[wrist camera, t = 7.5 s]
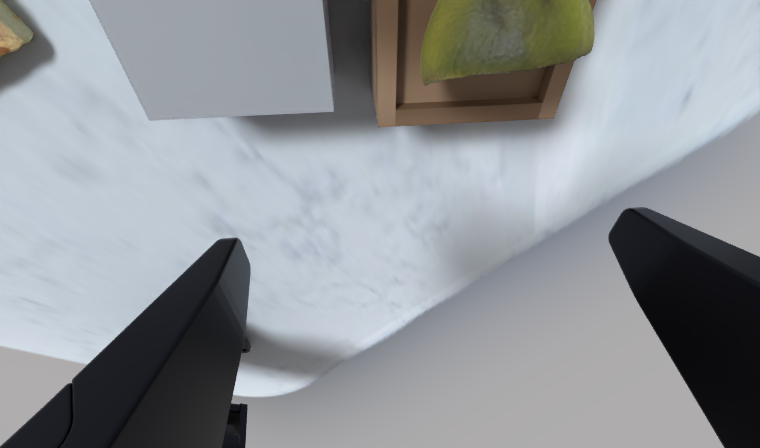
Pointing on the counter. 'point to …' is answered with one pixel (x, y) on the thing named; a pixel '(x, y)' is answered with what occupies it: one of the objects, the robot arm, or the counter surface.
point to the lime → (503, 36)
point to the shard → (12, 31)
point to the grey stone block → (223, 55)
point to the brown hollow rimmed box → (453, 96)
